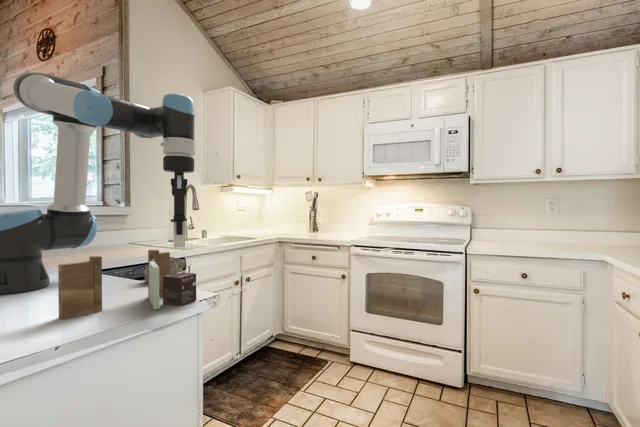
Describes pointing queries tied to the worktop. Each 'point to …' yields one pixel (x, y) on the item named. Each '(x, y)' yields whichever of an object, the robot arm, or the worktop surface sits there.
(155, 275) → the door
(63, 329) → the worktop surface
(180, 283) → the box
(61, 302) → the partition
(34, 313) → the worktop surface
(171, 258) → the rock
